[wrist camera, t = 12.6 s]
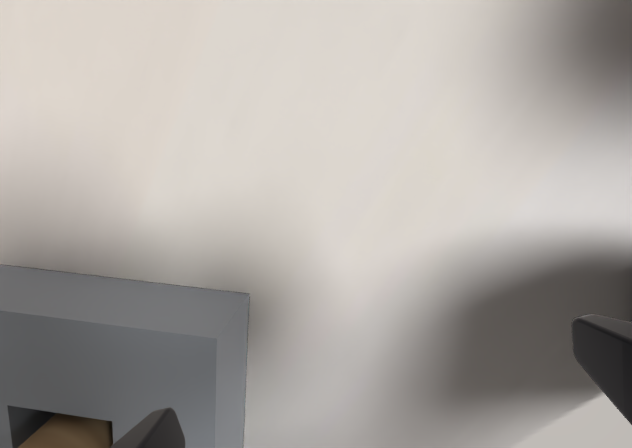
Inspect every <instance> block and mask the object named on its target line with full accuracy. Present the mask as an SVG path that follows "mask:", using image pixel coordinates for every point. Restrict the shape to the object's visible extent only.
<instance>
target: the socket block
mask: <svg viewBox="0 0 632 448" xmlns="http://www.w3.org/2000/svg"><path fill="white" fill-rule="evenodd" d="M248 316H249V294H246V293H238V292H229V291H221V290H212V289H204V288H195V287H187V286H178V285H170V284H161V283H153V282H144V281H136V280H127V279H119V278H110V277H102V276H93V275H85V274H76V273H68V272H59V271H51V270H42V269H34V268H25V267H17V266H8V265H0V448H18V447H19V446H20V445H21V444H22V443H23V442H25V441H26V440H27V439H28V438H29V437H30V436H31V435H32V434H34V433H35V432H36V431H37V430H38V429H39V428H40V427H42V426H43V425H44V424H45V423H46V422H47V421H48V420H49V419H51V418H52V417H53V416H54V415H55V414H56V413H61V414H67V415H74V416H80V417H87V418H93V419H100V420H106V421H112V428H113V444H114V443H115V442H117V441H118V440H119V439H120V438H121V437H123V436H124V435H125V434H126V433H127V432H128V431H130V430H131V429H132V428H133V427H134V426H136V425H137V424H138V423H139V422H140V421H141V420H143V419H144V418H145V417H146V416H147V415H149V414H150V413H151V412H152V411H155V410H159V409H163V408H168V407H171V408H173V409H174V410H175V412H176V415H177V417H178V420H179V423H180V425H181V428H182V431H183V433H184V436H185V448H243V441H244V416H245V391H246V366H247V341H248Z"/></svg>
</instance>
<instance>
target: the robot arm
mask: <svg viewBox="0 0 632 448" xmlns="http://www.w3.org/2000/svg"><path fill="white" fill-rule="evenodd" d="M571 326H572V341H573V352H574V355H575V358H576V359H577V361H578V363H579V364H580V365H581V366H582V367H583V369H584V370H585V371H586V372H587V373H588V374H589V376H590V377H591V378H592V379H593V380H594V382H595V383H596V384H597V385H598V386H599V387H600V389H601V390H602V391H603V392H604V393H605V394H606V396H607V397H608V398H609V399H610V400H611V402H613V404H614V405H615V406H616V407H617V409H618V410H619V411H620V412H621V413H622V414H623V416H624V417H625V418H626V419H627V420H628V421H629V422H630V423H631V425H632V322H628V321H624V320H619V319H615V318H610V317H606V316H601V315H597V314H589V315H585V316H580V317H576V318H574V319H573V320H572V325H571ZM110 448H185V436H184V433H183V431H182V428H181V425H180V423H179V420H178V417H177V415H176V412H175V410H174V409H173V408H171V407H168V408H163V409H159V410H155V411H152V412H151V413H150V414H149V415H147V416H146V417H145V418H144V419H143V420H141V421H140V422H139V423H138V424H137V425H136V426H134V427H133V428H132V429H131V430H130V431H128V432H127V433H126V434H125V435H124V436H123V437H121V438H120V439H119V440H118V441H117V442H115V443H114V444H113V445H112V446H111V447H110Z"/></svg>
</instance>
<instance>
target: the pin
mask: <svg viewBox="0 0 632 448" xmlns="http://www.w3.org/2000/svg"><path fill="white" fill-rule="evenodd" d="M112 445H113V428H112V421H106V420H100V419H93V418H87V417H80V416H74V415H67V414H61V413H56V414H55V415H54V416H53V417H52V418H51V419H49V420H48V421H47V422H46V423H45V424H44V425H43V426H42V427H40V428H39V429H38V430H37V431H36V432H35V433H34V434H32V435H31V436H30V437H29V438H28V439H27V440H26V441H25V442H23V443H22V444H21V445H20V446H19V447H18V448H110V447H111V446H112Z"/></svg>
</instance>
